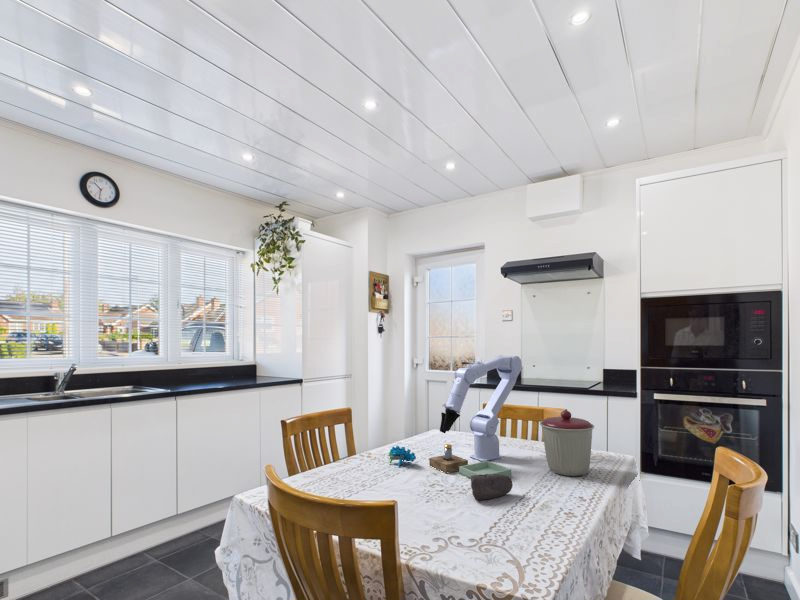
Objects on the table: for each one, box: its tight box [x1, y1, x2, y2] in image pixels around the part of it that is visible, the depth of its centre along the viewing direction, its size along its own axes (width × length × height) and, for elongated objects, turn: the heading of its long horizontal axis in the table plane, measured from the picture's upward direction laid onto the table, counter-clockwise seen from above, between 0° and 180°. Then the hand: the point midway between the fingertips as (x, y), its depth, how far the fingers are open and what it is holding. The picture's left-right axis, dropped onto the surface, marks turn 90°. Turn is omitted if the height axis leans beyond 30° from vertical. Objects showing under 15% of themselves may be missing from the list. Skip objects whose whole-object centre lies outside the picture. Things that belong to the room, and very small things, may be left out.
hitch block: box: [428, 454, 469, 474], centre depth 159 cm, size 10×10×3 cm
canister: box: [539, 410, 595, 477], centre depth 153 cm, size 18×18×21 cm
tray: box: [458, 460, 512, 480], centre depth 150 cm, size 13×12×2 cm
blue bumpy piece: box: [387, 445, 417, 467], centre depth 163 cm, size 11×6×10 cm
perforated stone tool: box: [470, 474, 513, 501], centre depth 130 cm, size 15×5×7 cm, turn 110°
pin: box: [444, 443, 453, 461], centre depth 159 cm, size 3×3×8 cm
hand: (443, 431), depth 160 cm, fingers open, 7 cm apart
